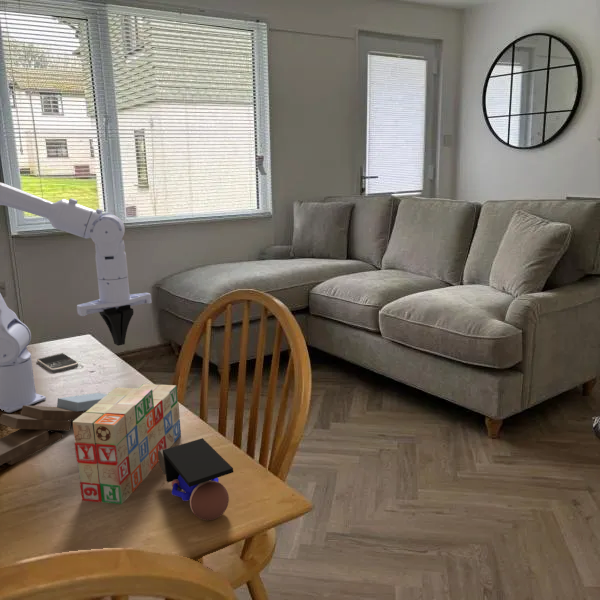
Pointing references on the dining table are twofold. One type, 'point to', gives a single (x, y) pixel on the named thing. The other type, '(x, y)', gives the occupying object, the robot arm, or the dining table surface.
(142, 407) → the stack of blocks
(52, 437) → the domino
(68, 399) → the domino
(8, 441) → the domino
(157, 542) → the dining table surface
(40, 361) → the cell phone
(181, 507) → the dining table surface
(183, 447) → the figurine character
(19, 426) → the domino
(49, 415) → the domino
